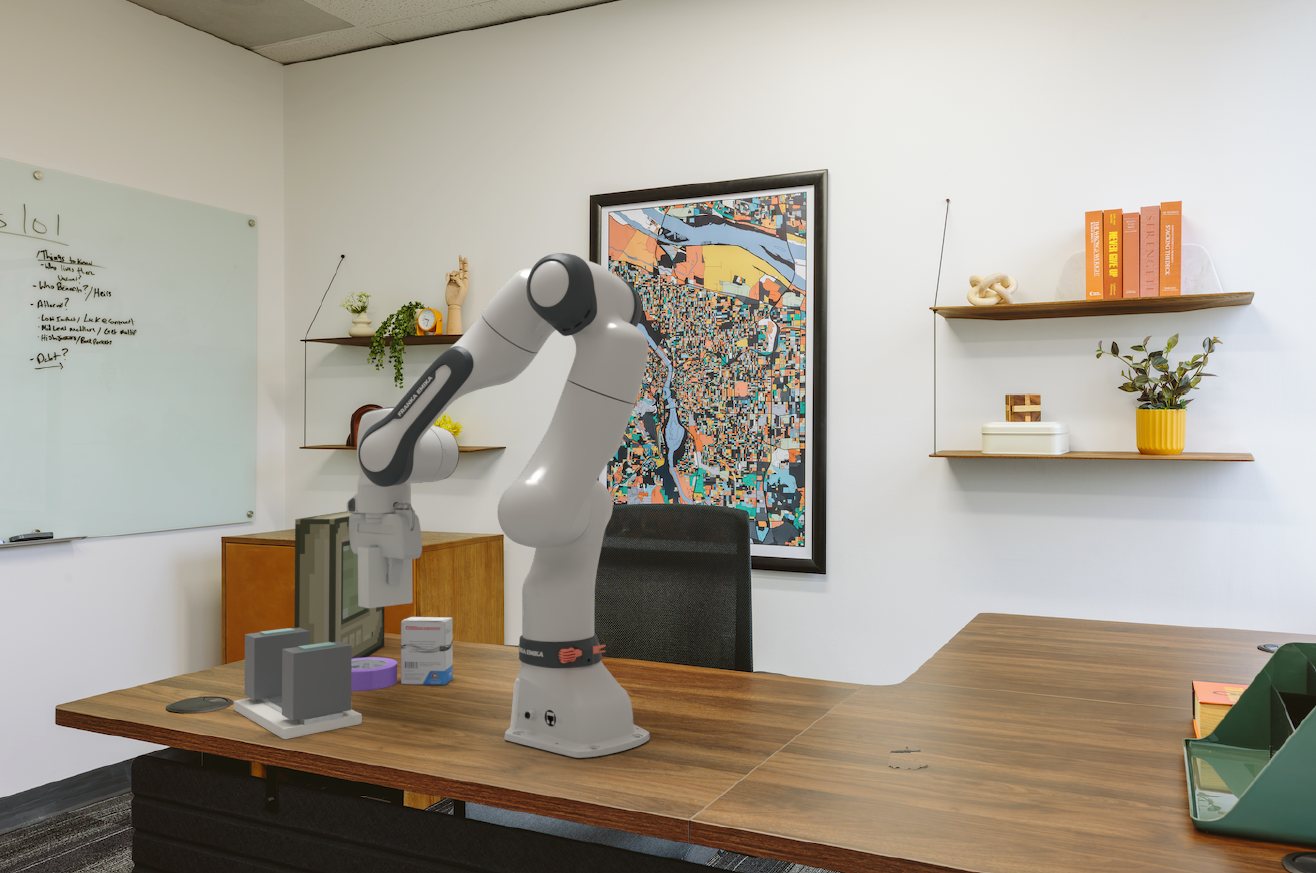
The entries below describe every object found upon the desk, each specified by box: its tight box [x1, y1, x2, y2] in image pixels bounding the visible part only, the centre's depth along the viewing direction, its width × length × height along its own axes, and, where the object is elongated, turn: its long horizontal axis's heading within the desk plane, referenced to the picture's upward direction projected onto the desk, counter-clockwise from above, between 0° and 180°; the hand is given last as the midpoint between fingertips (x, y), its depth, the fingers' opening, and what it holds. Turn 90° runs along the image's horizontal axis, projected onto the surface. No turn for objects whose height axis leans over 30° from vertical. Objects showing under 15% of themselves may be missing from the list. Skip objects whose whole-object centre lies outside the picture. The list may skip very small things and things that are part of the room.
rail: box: [257, 695, 343, 725], centre depth 149 cm, size 22×6×1 cm, turn 42°
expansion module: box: [358, 545, 414, 608], centre depth 160 cm, size 4×8×10 cm, turn 132°
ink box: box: [400, 616, 454, 686], centre depth 173 cm, size 8×5×12 cm, turn 84°
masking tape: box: [351, 656, 398, 692], centre depth 172 cm, size 12×12×4 cm
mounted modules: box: [244, 627, 352, 721], centre depth 149 cm, size 21×9×10 cm, turn 42°
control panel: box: [293, 510, 386, 659], centre depth 191 cm, size 30×8×30 cm, turn 178°
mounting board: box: [233, 697, 363, 740], centre depth 149 cm, size 22×12×2 cm, turn 42°
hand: (385, 583), depth 160 cm, fingers closed on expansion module, 4 cm apart
